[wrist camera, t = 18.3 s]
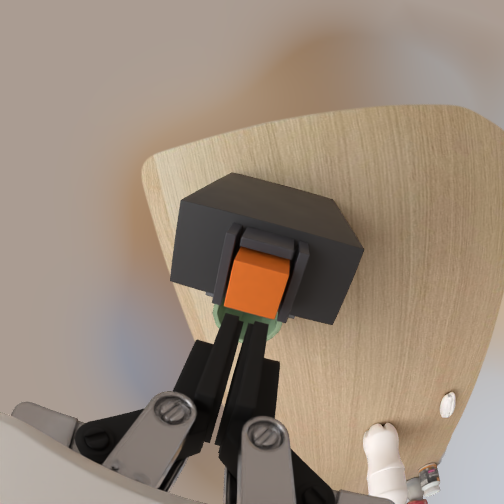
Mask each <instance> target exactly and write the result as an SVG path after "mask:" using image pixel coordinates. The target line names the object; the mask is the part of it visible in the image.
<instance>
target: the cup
mask: <svg viewBox="0 0 504 504" xmlns="http://www.w3.org/2000/svg"><path fill="white" fill-rule="evenodd" d="M224 303H225V297H224V300H223V302H222V304H221V305H217V304H214V308H213V316H214V320H215V324H216V325H217V326H218V328H219V329H220V326H221V323H222V321H223V318H224V315H225V313H229V314H232V315H236V316H239V320H240V321H243V322H244V323H243V327H242V331H241V334H240V338H239V342H240V343H243V340H244V336H245V333H246V329H247V326H248V323H251V324H254V322H255V321H258V322H262V323H266V324H269V327H268V334H267V340H270V339H272V338H273V337H274V336H275V335H276V334H277V333H278V332H279V331H280V328H281V325H282V323H283V322H279V321H277V315H278V312H277V314H276V317H275V319H268V318H264V317H260V316H256V315H253V314H249V313H245V312H241V311H238V310H234V309H231V308H227V307H226V306H224ZM267 340H266V341H267Z"/></svg>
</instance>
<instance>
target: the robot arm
mask: <svg viewBox="0 0 504 504" xmlns="http://www.w3.org/2000/svg"><path fill="white" fill-rule="evenodd" d="M243 323H244V322H243V321H240V320H239V316H236V315H232V314H229V313H225V315H224V318H223V321H222V323H221V326H220V329H219V331H218V334H217V337H216V339H215V342H214V344H210V343H207V342H203V341H200V340H196V342H195V344H194V346H193V348H192V350H191V352H190V354H189V357H188V359H187V361H186V363H185V366H184V368H183V370H182V372H181V374H180V376H179V379H178V381H177V383H176V385H175V388H174V390H173V392H172V391H167V392H162V393H160V394H157V395H156V396H155V397H154V398H153V399H152V400H151V401H150V402H149V404H148V405H147V406H146V408H145V409H141V410H137V411H133V412H130V413H126V414H122V415H117V416H113V417H109V418H104V419H100V420H95V421H90V422H88V423H83V422H80V421H78V419H77V418H74V417H71V416H68V415H64V414H61V413H59V412H56V411H53V410H50V409H48V408H45V407H42V406H40V405H37V404H34V403H31V402H22V403H20V404H18V405H17V406H16V407H15V409H14V410H13V412H12V415H11V416H10V415H7V414H5V413H1V412H0V504H206V503H201V502H198V501H194V500H191V499H187V498H184V497H181V496H177V495H174V494H171V493H169V492H170V490H171V489H172V487H173V485H174V483H175V482H176V480H177V478H178V476H179V474H180V473H181V471H182V469H183V468H184V466H185V464H186V462H187V460H188V458H189V456H192V455H194V454H197V453H200V451H201V448H202V446H203V443H204V442H208V443H210V440H211V437H212V433H213V430H214V427H215V423H216V420H217V417H218V413H219V409H220V406H221V403H222V399H223V396H224V392H225V389H226V385H227V381H228V378H229V374H230V371H231V367H232V363H233V360H234V356H235V352H236V349H237V345H238V342H239V338H240V334H241V331H242V327H243ZM268 327H269V324H266V323H262V322H258V321H255V322H254V324H251V323H248V326H247V329H246V333H245V336H244V340H243V343H242V346H241V350H240V353H239V357H238V360H237V363H236V367H235V370H234V374H233V377H232V381H231V385H230V389H229V392H228V396H227V400H226V404H225V407H224V411H223V415H222V418H221V422H220V426H219V430H218V433H217V437H216V441H215V445H219V446H220V448H219V452H218V453H219V459H220V460H221V461H222V463H223V464H224V465H225V472H224V495H223V504H395V503H394V502H393V501H392V500H390V499H387V498H382V497H376V496H370V495H364V494H359V493H354V492H350V491H345V490H339V491H336V490H332V489H331V488H330V486H329V485H328V484H326V483H325V482H324V481H323V480H322V479H321V478H320V477H319V476H318V475H317V474H316V473H315V472H314V471H313V470H312V469H311V468H310V467H309V466H308V465H307V464H306V463H305V462H304V461H303V460H302V459H301V458H300V457H299V456H298V455H297V454H296V453H295V452H294V451H293V450H292V449H291V448H290V440H289V434H288V431H287V429H286V428H285V426H284V425H283V424H282V423H281V422H280V421H278V420H276V419H275V411H276V401H277V391H278V381H279V370H280V362H278V361H274V360H270V359H266V358H264V354H265V347H266V340H267V334H268Z"/></svg>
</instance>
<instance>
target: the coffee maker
mask: <svg viewBox="0 0 504 504" xmlns="http://www.w3.org/2000/svg"><path fill="white" fill-rule="evenodd" d="M241 246H242V247H245V248H249V249H253V250H256V251H260V252H264V253H268V254H271V255H275V256H279V257H282V258H286V259H290V269H289V278H288V281H287V284H286V287H285V290H284V293H283V296H282V299H281V302H280V305H279V308H278V311H277V312H278V315H277V321H279V322H283V323H286V322H287V319H288V318H292V319H294V318H295V316H297V317H301V318H305V319H309V320H313V321H317V322H321V323H326V324H330V325H333V323H334V321H335V319H336V317H337V314H338V312H339V310H340V308H341V305H342V303H343V301H344V298H345V296H346V294H347V291H348V289H349V287H350V284H351V282H352V280H353V277H354V275H355V272H356V270H357V267H358V265H359V262H360V260H361V257H362V254H363V252H364V248H363V247H362V245H361V243H360V242H359V240H358V238H357V237H356V235H355V233H354V232H353V230H352V229H351V227H350V225H349V224H348V222H347V221H346V219H345V217H344V216H343V214H342V213H341V211H340V210H339V208H338V207H337V205H336V204H335V202H334V201H333V199H329V198H326V197H323V196H319V195H316V194H312V193H309V192H305V191H302V190H298V189H295V188H291V187H287V186H284V185H280V184H276V183H272V182H268V181H265V180H261V179H257V178H253V177H249V176H244V175H240V174H236V173H230V174H228V175H226V176H224V177H222V178H220V179H219V180H217V181H215V182H213V183H211V184H209V185H207V186H205V187H204V188H202V189H200V190H198V191H196V192H195V193H193V194H191V195H189V196H187V197H186V198H184V199H182V200H181V203H180V209H179V215H178V222H177V229H176V236H175V244H174V251H173V259H172V268H171V277H170V281H172V282H175V283H178V284H181V285H185V286H188V287H191V288H195V289H198V290H201V291H205V292H206V295H208V296H211V297H213V300H212V303H214V304H217V305H221V304H222V302H223V300H224V297H225V298H226V294H227V289H228V285H229V280H230V276H231V271H232V267H233V263H234V259H235V257H236V255H237V253H238V251H239V249H240V247H241ZM227 308H229V307H227ZM231 309H233V308H231ZM234 310H236V309H234ZM238 311H240V310H238ZM241 312H244V311H241ZM245 313H247V312H245ZM249 314H251V313H249ZM253 315H255V314H253ZM256 316H258V315H256ZM260 317H262V316H260ZM264 318H266V317H264ZM268 319H270V318H268Z"/></svg>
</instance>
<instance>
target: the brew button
mask: <svg viewBox="0 0 504 504" xmlns="http://www.w3.org/2000/svg"><path fill="white" fill-rule="evenodd" d="M289 269H290V259H286V258H282V257H279V256H275V255H271V254H268V253H264V252H260V251H256V250H253V249H249V248H245V247H242V246H241V247H240V249H239V251H238V253H237V255H236V257H235V259H234V263H233V267H232V271H231V276H230V280H229V285H228V289H227V294H226V298H225V303H224V306H226V307H229V308H233V309H236V310H240V311H244V312H247V313H251V314H255V315H258V316H262V317H266V318H270V319H275V317H276V314H277V311H278V308H279V305H280V302H281V299H282V296H283V293H284V290H285V287H286V284H287V281H288V278H289Z"/></svg>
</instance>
